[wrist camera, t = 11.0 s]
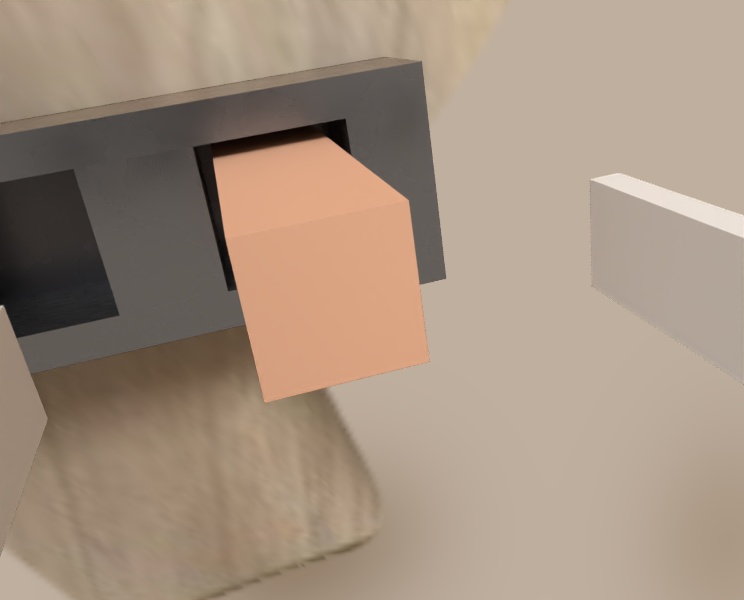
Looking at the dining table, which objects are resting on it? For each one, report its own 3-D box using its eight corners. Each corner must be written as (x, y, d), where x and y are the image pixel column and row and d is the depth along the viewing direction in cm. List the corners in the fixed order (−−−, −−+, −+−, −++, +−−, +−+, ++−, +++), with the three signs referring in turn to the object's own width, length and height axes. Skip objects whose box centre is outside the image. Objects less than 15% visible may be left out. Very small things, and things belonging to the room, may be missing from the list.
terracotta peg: (233, 239, 29) (264, 403, 16) (210, 142, 27) (225, 238, 14) (327, 219, 29) (429, 361, 17) (310, 124, 28) (408, 200, 15)
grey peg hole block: (-64, 346, 28) (-114, 407, 23) (-150, 148, 25) (-227, 174, 20) (409, 243, 31) (445, 278, 27) (384, 56, 28) (421, 61, 24)
